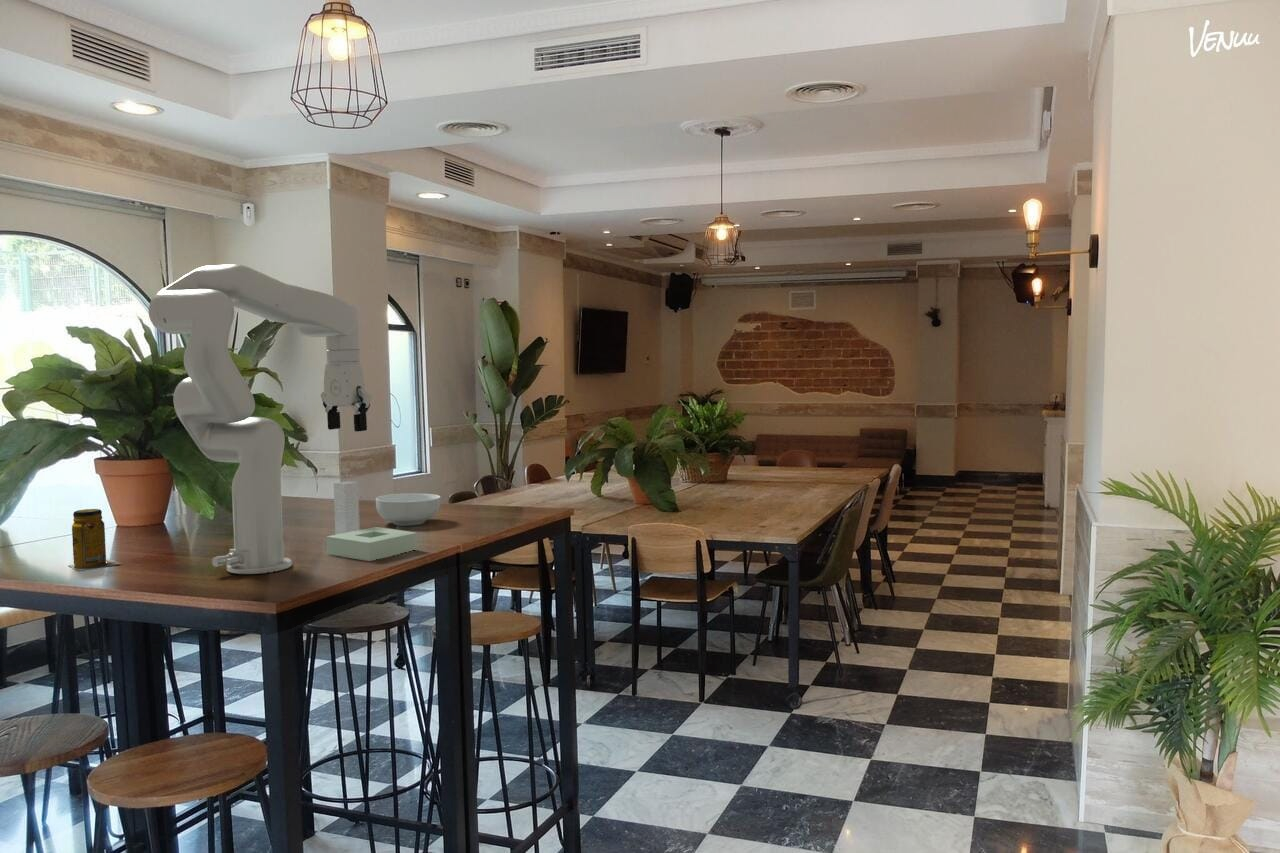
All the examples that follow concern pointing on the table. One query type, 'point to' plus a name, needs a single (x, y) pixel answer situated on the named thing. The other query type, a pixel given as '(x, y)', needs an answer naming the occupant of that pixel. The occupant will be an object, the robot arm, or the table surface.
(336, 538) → the green square socket block
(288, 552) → the table surface
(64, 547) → the table surface
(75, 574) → the table surface
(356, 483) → the white rectangular block
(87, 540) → the condiment
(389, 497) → the cereal bowl
